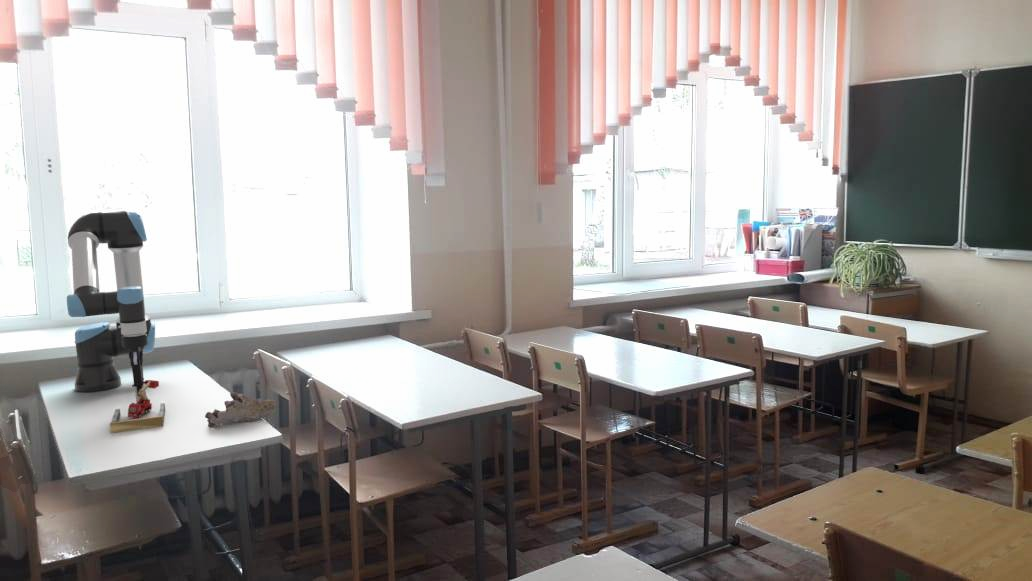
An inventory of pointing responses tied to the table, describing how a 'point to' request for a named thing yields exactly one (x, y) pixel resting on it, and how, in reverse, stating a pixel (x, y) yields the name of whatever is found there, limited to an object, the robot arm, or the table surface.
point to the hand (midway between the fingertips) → (141, 404)
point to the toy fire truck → (142, 401)
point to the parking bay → (136, 421)
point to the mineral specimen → (241, 410)
